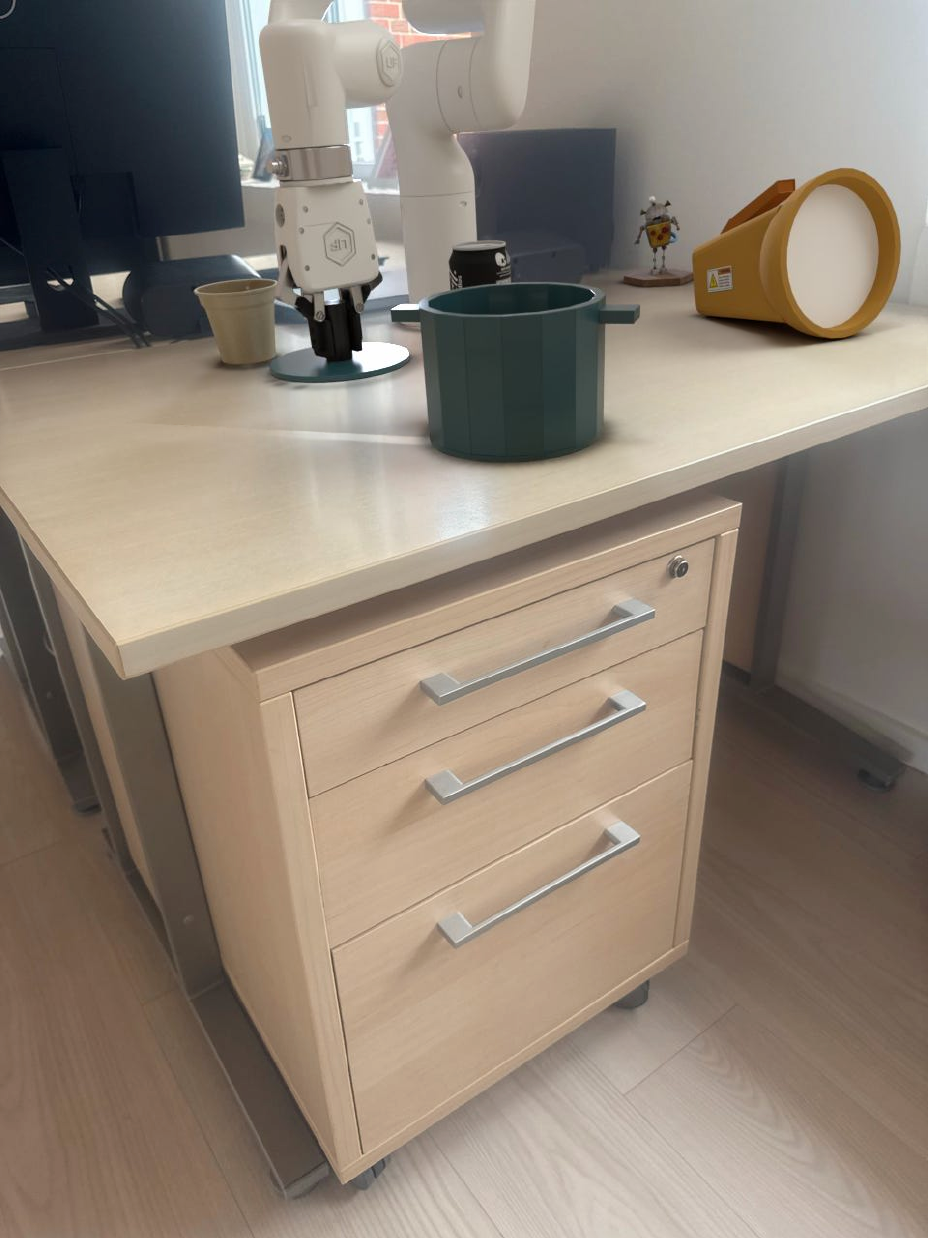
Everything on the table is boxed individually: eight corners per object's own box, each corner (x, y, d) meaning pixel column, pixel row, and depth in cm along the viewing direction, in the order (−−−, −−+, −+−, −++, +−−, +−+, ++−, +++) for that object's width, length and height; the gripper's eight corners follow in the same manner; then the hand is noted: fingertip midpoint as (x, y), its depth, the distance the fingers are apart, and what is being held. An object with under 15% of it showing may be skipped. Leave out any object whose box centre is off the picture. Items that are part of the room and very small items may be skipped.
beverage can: (446, 357, 100) (438, 244, 94) (498, 349, 102) (493, 237, 96) (469, 369, 95) (462, 249, 89) (523, 360, 97) (520, 242, 91)
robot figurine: (692, 274, 139) (697, 190, 133) (700, 283, 131) (706, 195, 125) (621, 277, 141) (623, 194, 135) (625, 287, 133) (627, 199, 127)
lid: (311, 351, 107) (303, 289, 104) (430, 353, 102) (425, 288, 99) (243, 385, 94) (231, 316, 91) (375, 390, 90) (367, 317, 86)
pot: (436, 404, 84) (427, 282, 78) (647, 412, 77) (652, 280, 72) (373, 454, 72) (357, 315, 67) (615, 469, 66) (619, 317, 60)
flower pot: (271, 371, 99) (258, 291, 95) (195, 372, 101) (178, 294, 97) (301, 352, 107) (290, 277, 103) (230, 353, 109) (216, 279, 105)
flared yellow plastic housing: (902, 326, 99) (900, 154, 94) (785, 348, 93) (776, 167, 88) (776, 339, 117) (768, 196, 112) (671, 359, 111) (658, 209, 106)
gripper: (261, 174, 81) (292, 373, 91) (401, 161, 90) (417, 343, 99) (224, 175, 87) (257, 363, 96) (360, 161, 95) (378, 335, 105)
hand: (338, 351), depth 97 cm, fingers closed on lid, 3 cm apart
